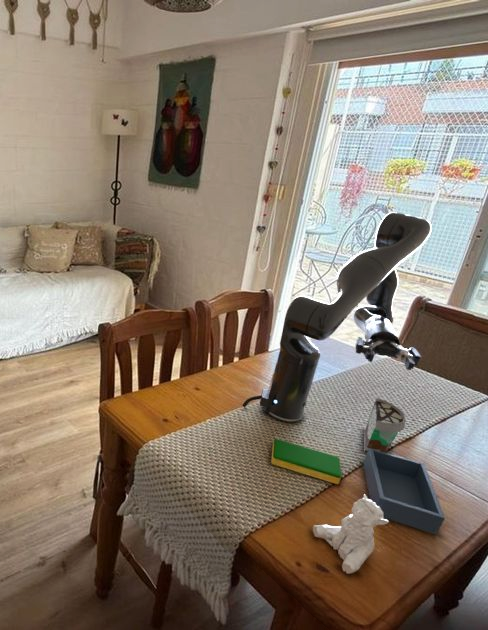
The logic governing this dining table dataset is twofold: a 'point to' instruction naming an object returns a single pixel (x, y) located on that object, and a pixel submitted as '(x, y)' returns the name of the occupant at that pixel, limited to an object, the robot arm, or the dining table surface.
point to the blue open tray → (403, 490)
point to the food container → (383, 426)
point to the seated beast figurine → (354, 533)
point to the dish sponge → (306, 461)
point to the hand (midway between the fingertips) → (390, 362)
